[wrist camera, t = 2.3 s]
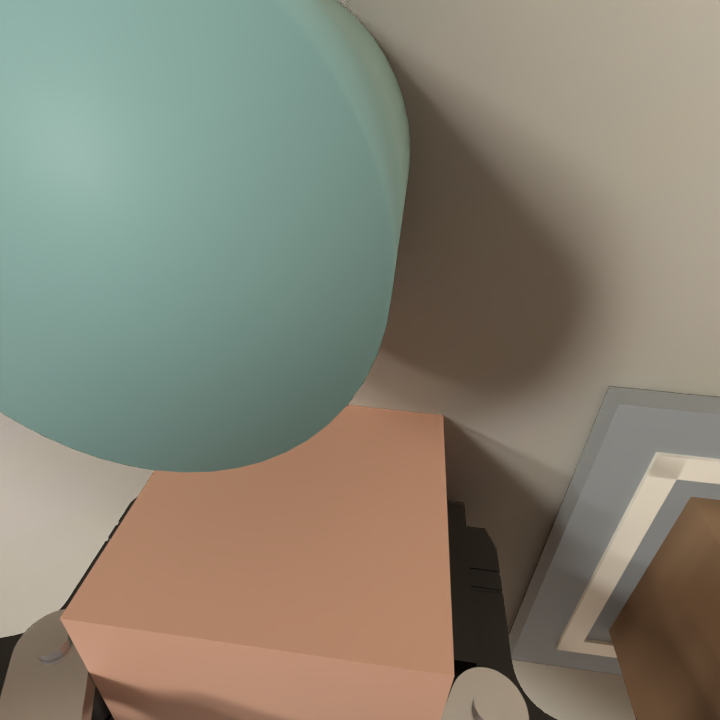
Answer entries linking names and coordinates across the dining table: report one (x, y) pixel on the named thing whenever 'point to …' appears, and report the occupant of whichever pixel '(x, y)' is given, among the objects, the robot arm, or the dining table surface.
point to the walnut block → (676, 623)
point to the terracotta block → (282, 584)
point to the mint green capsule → (193, 223)
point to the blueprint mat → (616, 522)
